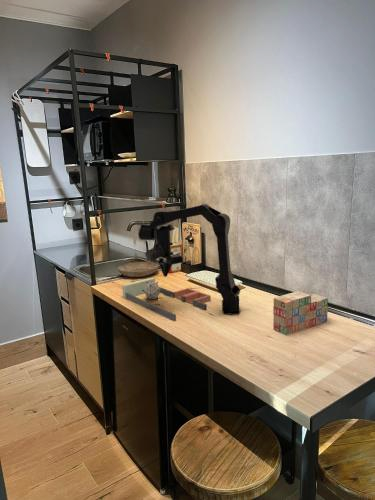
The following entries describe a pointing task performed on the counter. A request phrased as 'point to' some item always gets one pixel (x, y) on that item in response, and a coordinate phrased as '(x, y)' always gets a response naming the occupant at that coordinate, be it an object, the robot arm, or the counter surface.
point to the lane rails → (160, 310)
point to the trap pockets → (192, 295)
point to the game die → (152, 290)
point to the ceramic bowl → (138, 269)
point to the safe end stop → (136, 287)
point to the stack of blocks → (298, 311)
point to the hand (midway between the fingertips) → (165, 276)
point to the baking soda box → (176, 251)
